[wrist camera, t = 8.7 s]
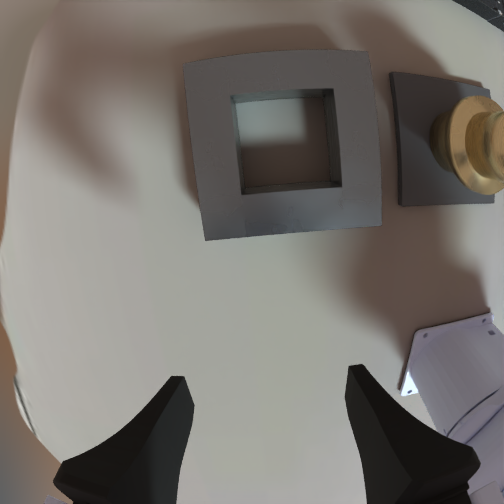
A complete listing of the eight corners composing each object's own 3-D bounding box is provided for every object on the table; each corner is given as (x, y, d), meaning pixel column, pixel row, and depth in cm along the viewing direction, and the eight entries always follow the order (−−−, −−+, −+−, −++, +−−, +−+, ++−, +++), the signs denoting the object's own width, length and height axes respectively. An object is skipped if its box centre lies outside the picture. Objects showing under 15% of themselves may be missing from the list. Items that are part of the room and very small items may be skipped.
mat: (484, 90, 15) (489, 89, 14) (489, 201, 18) (494, 203, 17) (389, 73, 15) (392, 71, 15) (398, 204, 18) (402, 206, 18)
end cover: (480, 108, 15) (552, 106, 8) (481, 186, 17) (551, 211, 10) (416, 94, 15) (487, 78, 8) (419, 182, 17) (490, 207, 10)
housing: (353, 64, 15) (367, 51, 12) (365, 213, 19) (381, 225, 16) (195, 75, 16) (182, 63, 13) (213, 226, 19) (205, 240, 17)
